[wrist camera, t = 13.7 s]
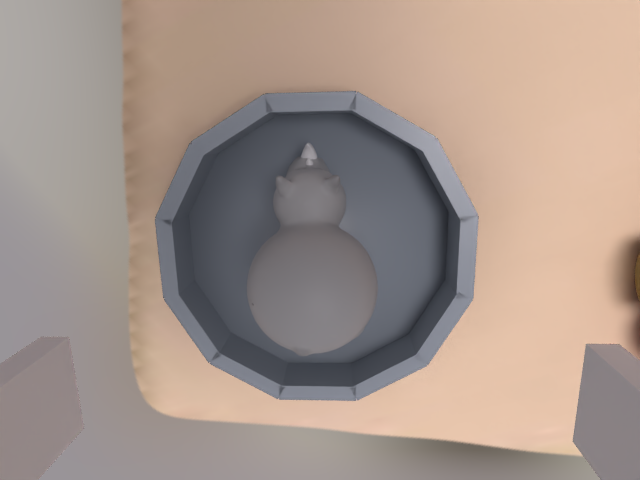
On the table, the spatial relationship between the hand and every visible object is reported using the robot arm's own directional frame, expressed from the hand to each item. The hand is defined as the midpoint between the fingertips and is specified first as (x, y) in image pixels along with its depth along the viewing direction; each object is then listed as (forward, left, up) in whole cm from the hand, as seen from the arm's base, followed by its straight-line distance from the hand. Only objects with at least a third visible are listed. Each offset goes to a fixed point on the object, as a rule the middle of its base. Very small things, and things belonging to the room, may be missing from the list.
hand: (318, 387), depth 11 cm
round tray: (+1, -1, -19) cm, 19 cm away
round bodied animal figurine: (0, -1, -18) cm, 18 cm away
